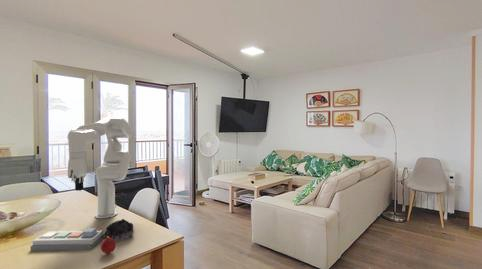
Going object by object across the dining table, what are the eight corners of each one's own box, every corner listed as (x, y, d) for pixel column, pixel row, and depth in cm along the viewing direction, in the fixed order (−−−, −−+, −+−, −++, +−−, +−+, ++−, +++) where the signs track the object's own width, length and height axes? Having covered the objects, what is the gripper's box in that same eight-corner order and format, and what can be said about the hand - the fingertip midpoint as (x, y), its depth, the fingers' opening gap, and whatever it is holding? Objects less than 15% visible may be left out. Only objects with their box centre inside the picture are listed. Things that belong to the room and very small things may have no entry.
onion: (118, 250, 114) (118, 233, 113) (112, 257, 108) (111, 239, 108) (105, 251, 113) (104, 233, 113) (98, 257, 108) (98, 239, 107)
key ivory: (47, 237, 122) (47, 232, 122) (56, 237, 122) (56, 232, 122) (41, 241, 117) (41, 236, 117) (50, 241, 118) (50, 236, 118)
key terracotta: (74, 237, 122) (74, 232, 122) (83, 237, 123) (83, 232, 123) (69, 241, 118) (69, 235, 118) (78, 241, 118) (78, 235, 118)
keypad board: (50, 238, 126) (50, 230, 126) (104, 237, 127) (104, 229, 127) (30, 250, 113) (30, 241, 113) (90, 249, 114) (90, 240, 114)
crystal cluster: (106, 234, 132) (104, 216, 131) (134, 228, 137) (132, 211, 136) (103, 247, 120) (101, 228, 119) (134, 240, 125) (132, 222, 124)
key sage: (61, 237, 122) (61, 232, 122) (70, 237, 122) (70, 232, 122) (55, 241, 118) (55, 236, 118) (64, 241, 118) (64, 236, 118)
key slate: (87, 233, 123) (87, 228, 123) (96, 233, 123) (96, 228, 123) (82, 236, 118) (82, 231, 118) (91, 236, 119) (91, 231, 119)
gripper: (78, 152, 136) (80, 186, 138) (60, 157, 121) (62, 194, 123) (93, 152, 137) (94, 185, 138) (76, 157, 122) (78, 194, 123)
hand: (79, 190), depth 131 cm, fingers closed
